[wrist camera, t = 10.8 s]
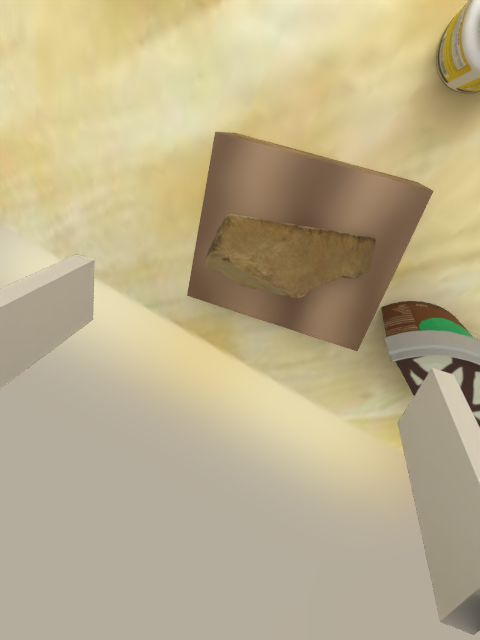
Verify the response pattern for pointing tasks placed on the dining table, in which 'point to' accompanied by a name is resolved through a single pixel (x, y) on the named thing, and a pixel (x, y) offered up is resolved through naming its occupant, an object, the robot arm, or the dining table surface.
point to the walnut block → (312, 211)
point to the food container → (433, 347)
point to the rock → (286, 255)
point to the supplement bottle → (461, 50)
